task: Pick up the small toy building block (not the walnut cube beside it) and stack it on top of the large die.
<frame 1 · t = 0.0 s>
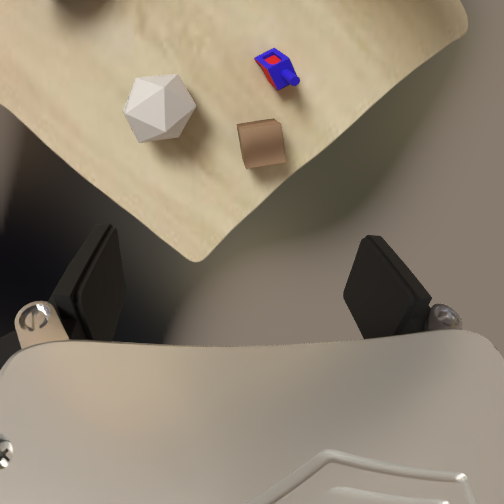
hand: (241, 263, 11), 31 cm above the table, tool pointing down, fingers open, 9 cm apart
toy building block: (273, 69, 33), on the table
die: (163, 105, 34), on the table
walnut cube: (257, 138, 38), on the table
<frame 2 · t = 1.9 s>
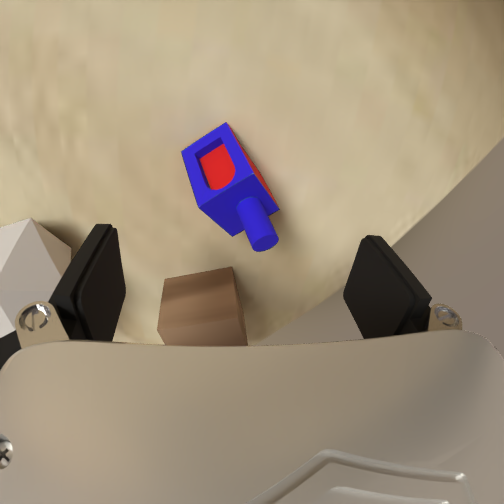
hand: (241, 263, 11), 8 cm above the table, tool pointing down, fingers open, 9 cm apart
toy building block: (228, 170, 17), on the table
die: (42, 248, 18), on the table
walnut cube: (205, 297, 23), on the table
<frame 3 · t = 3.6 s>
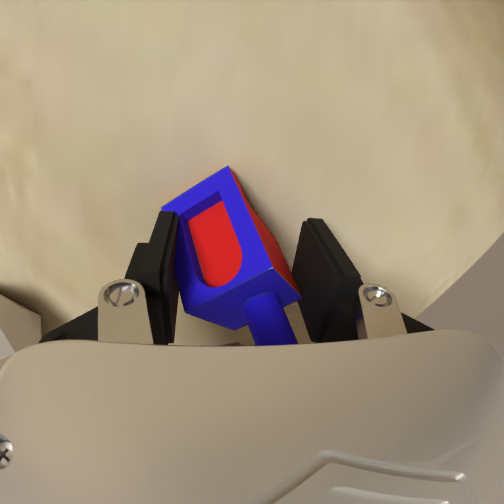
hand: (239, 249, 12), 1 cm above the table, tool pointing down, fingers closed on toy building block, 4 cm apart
toy building block: (229, 232, 13), on the table, touching gripper
die: (9, 310, 14), on the table
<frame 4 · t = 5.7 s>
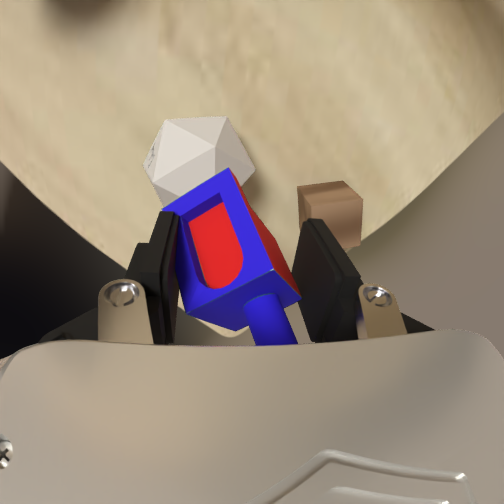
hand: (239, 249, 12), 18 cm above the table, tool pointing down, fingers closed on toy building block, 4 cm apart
toy building block: (230, 233, 13), point 16 cm above the table, touching gripper
die: (199, 154, 27), on the table
walnut cube: (321, 205, 31), on the table
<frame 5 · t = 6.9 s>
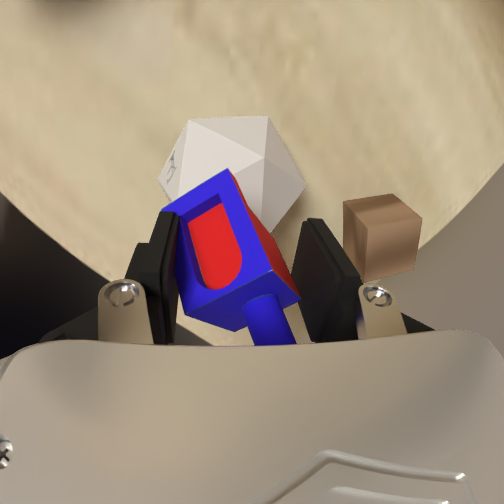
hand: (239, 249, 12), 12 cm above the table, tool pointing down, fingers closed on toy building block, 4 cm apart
toy building block: (229, 234, 13), point 11 cm above the table, touching gripper
die: (227, 163, 22), on the table
walnut cube: (367, 221, 26), on the table
when the fingers open (10 cm above the table, at t = 8.0 s): toy building block drops 1 cm, resting on die.
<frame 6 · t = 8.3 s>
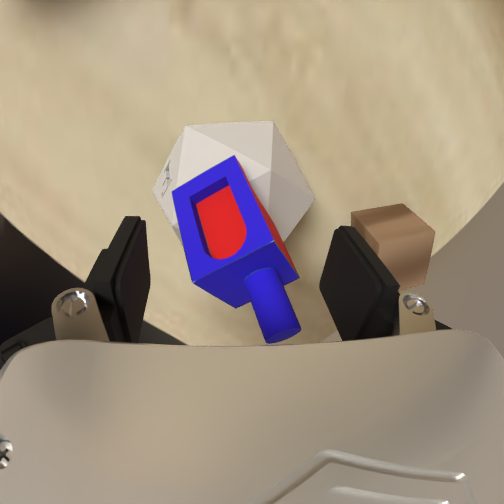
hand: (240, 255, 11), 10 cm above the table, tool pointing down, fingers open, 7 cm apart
toy building block: (233, 217, 14), point 7 cm above the table, touching die
die: (227, 172, 20), on the table, touching toy building block
walnut cube: (376, 233, 24), on the table
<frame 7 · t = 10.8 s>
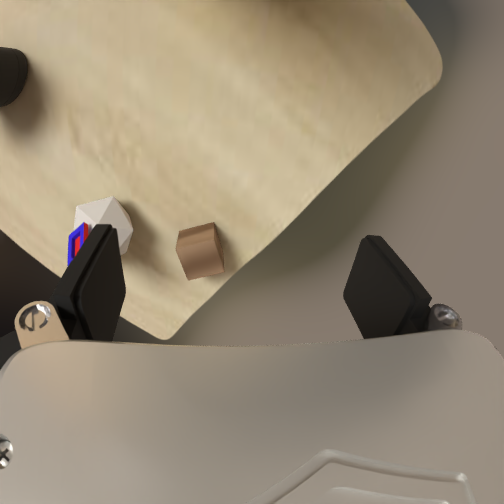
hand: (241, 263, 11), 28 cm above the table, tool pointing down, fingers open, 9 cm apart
toy building block: (92, 243, 32), point 7 cm above the table, touching die
die: (110, 217, 38), on the table, touching toy building block
walnut cube: (201, 241, 42), on the table
pen holder: (8, 77, 24), on the table
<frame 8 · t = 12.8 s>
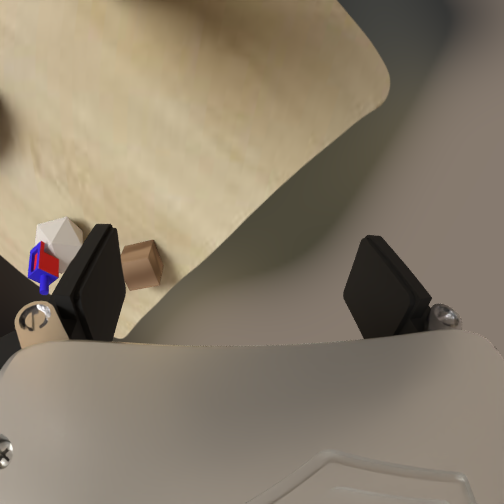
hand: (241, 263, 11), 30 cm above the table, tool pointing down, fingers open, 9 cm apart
toy building block: (48, 257, 35), point 7 cm above the table, touching die
die: (68, 231, 41), on the table, touching toy building block
walnut cube: (144, 256, 45), on the table
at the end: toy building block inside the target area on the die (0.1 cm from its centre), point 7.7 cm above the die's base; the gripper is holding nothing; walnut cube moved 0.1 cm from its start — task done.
